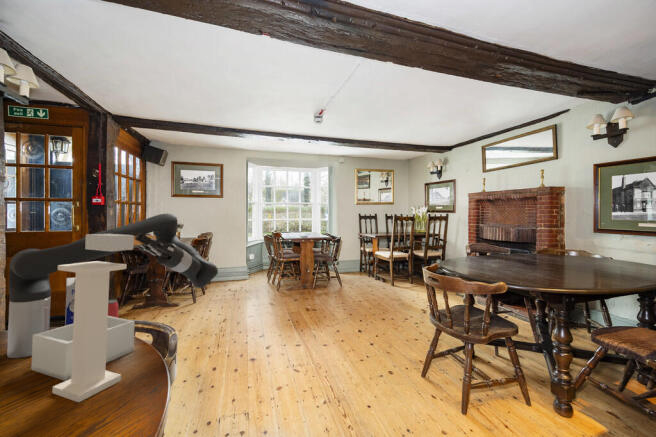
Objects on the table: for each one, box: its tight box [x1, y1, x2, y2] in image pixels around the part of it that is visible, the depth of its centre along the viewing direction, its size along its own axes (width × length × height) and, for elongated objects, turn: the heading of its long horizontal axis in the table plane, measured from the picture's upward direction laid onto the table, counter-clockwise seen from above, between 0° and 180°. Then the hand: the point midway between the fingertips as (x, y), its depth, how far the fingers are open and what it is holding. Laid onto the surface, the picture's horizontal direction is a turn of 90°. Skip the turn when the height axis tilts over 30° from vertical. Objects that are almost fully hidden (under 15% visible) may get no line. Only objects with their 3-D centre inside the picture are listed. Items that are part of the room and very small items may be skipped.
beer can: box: [108, 298, 119, 318], centre depth 108 cm, size 7×7×12 cm
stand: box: [51, 260, 128, 403], centre depth 74 cm, size 12×10×32 cm
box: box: [30, 316, 136, 382], centre depth 88 cm, size 15×19×10 cm
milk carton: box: [64, 277, 75, 326], centre depth 111 cm, size 7×7×20 cm
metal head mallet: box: [85, 233, 157, 252], centre depth 83 cm, size 10×16×4 cm, turn 161°
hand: (134, 235), depth 85 cm, fingers closed on metal head mallet, 2 cm apart
